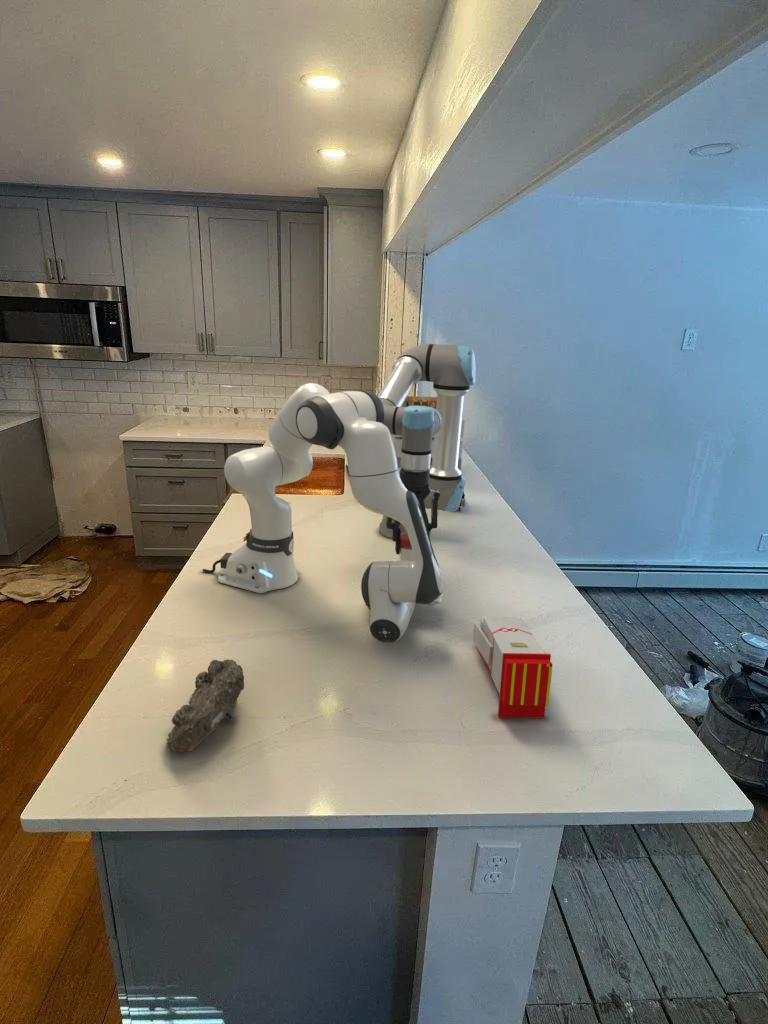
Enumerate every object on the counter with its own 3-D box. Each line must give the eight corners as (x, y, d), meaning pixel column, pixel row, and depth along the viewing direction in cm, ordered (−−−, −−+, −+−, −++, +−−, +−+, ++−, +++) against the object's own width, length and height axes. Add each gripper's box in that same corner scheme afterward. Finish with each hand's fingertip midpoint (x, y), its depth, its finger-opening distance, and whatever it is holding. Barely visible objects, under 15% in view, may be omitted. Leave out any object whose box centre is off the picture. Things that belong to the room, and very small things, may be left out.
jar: (416, 594, 158) (420, 536, 152) (416, 603, 153) (420, 545, 147) (397, 592, 158) (400, 535, 153) (396, 602, 153) (399, 543, 147)
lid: (418, 549, 147) (419, 543, 146) (395, 546, 148) (396, 539, 148) (424, 541, 152) (424, 535, 151) (402, 537, 154) (402, 531, 153)
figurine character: (465, 515, 224) (460, 499, 237) (467, 498, 221) (462, 483, 234) (448, 515, 224) (444, 499, 237) (450, 498, 220) (445, 482, 234)
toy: (519, 602, 136) (561, 660, 107) (515, 654, 139) (554, 724, 109) (469, 601, 136) (497, 659, 106) (465, 653, 138) (492, 723, 109)
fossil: (192, 660, 117) (244, 628, 112) (224, 691, 120) (276, 661, 115) (142, 746, 98) (202, 712, 93) (182, 779, 101) (242, 748, 96)
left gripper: (440, 594, 139) (447, 570, 151) (360, 582, 142) (373, 560, 155) (438, 616, 141) (445, 591, 153) (359, 604, 145) (372, 581, 157)
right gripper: (448, 464, 148) (441, 546, 156) (376, 464, 146) (373, 546, 153) (455, 472, 141) (447, 557, 149) (379, 472, 139) (375, 558, 146)
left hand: (408, 575), depth 154 cm, fingers closed on jar, 5 cm apart
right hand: (409, 552), depth 151 cm, fingers closed on lid, 6 cm apart
